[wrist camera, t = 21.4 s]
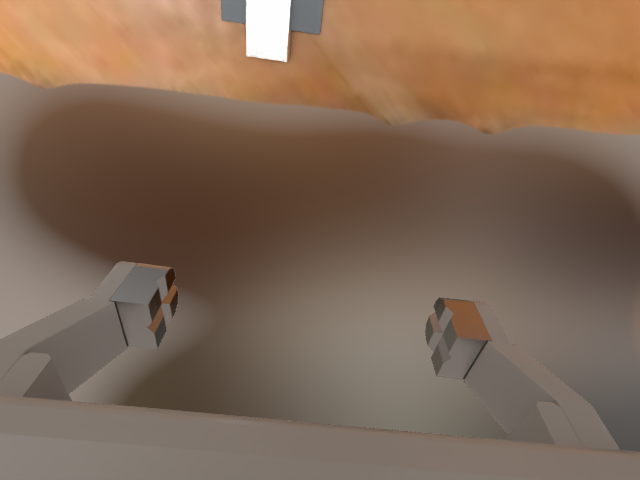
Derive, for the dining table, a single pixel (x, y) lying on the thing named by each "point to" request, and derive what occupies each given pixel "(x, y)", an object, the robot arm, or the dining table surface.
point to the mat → (303, 14)
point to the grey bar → (269, 29)
